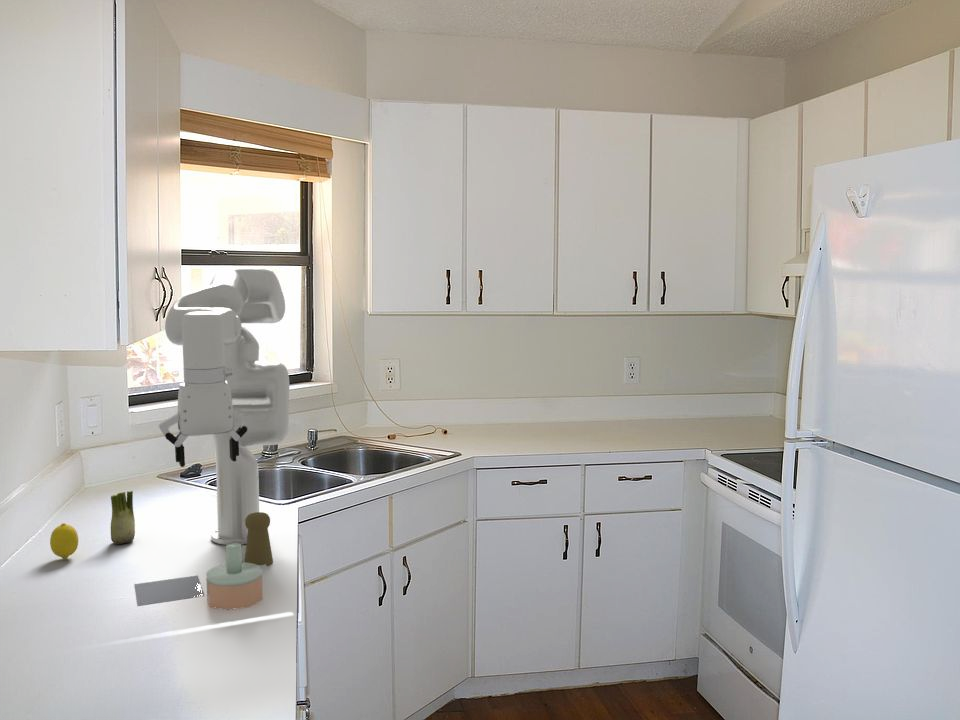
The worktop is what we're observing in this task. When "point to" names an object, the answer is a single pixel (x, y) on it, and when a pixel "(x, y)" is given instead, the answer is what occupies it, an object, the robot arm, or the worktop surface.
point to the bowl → (234, 595)
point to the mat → (167, 590)
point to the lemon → (64, 541)
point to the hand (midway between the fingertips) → (207, 462)
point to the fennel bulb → (122, 518)
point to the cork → (258, 539)
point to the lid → (234, 569)
